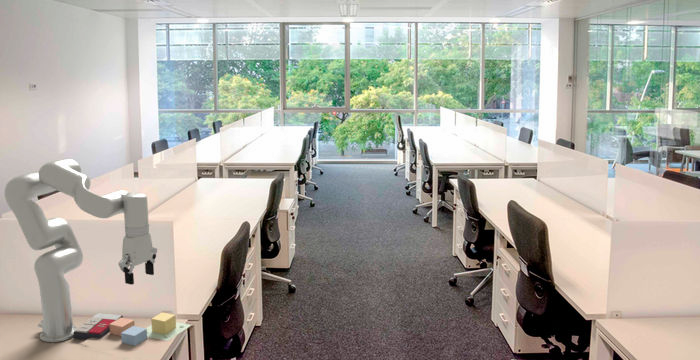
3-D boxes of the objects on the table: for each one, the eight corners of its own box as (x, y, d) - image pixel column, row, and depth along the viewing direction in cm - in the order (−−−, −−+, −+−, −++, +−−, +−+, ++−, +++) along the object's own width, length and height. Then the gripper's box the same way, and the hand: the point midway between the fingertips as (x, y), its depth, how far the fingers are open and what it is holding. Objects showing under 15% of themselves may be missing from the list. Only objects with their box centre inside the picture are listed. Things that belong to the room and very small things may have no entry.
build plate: (135, 337, 217) (135, 333, 217) (161, 321, 230) (161, 318, 229) (167, 344, 212) (167, 340, 211) (191, 328, 224) (191, 324, 224)
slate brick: (122, 346, 210) (121, 332, 209) (134, 338, 216) (133, 325, 215) (135, 349, 208) (134, 335, 207) (147, 341, 214) (146, 328, 213)
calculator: (72, 330, 215) (96, 311, 229) (73, 341, 216) (98, 321, 230) (100, 333, 213) (123, 313, 227) (101, 344, 214) (124, 323, 228)
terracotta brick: (110, 336, 217) (109, 324, 216) (122, 330, 223) (121, 317, 222) (123, 339, 215) (122, 326, 214) (135, 332, 221) (134, 320, 220)
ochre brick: (152, 331, 219) (151, 318, 218) (162, 324, 224) (162, 312, 223) (165, 334, 217) (164, 321, 216) (176, 327, 222) (175, 315, 221)
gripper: (146, 222, 210) (148, 269, 213) (109, 235, 194) (112, 285, 197) (163, 225, 207) (165, 272, 210) (127, 238, 191) (130, 289, 194)
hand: (139, 278), depth 204 cm, fingers open, 9 cm apart
